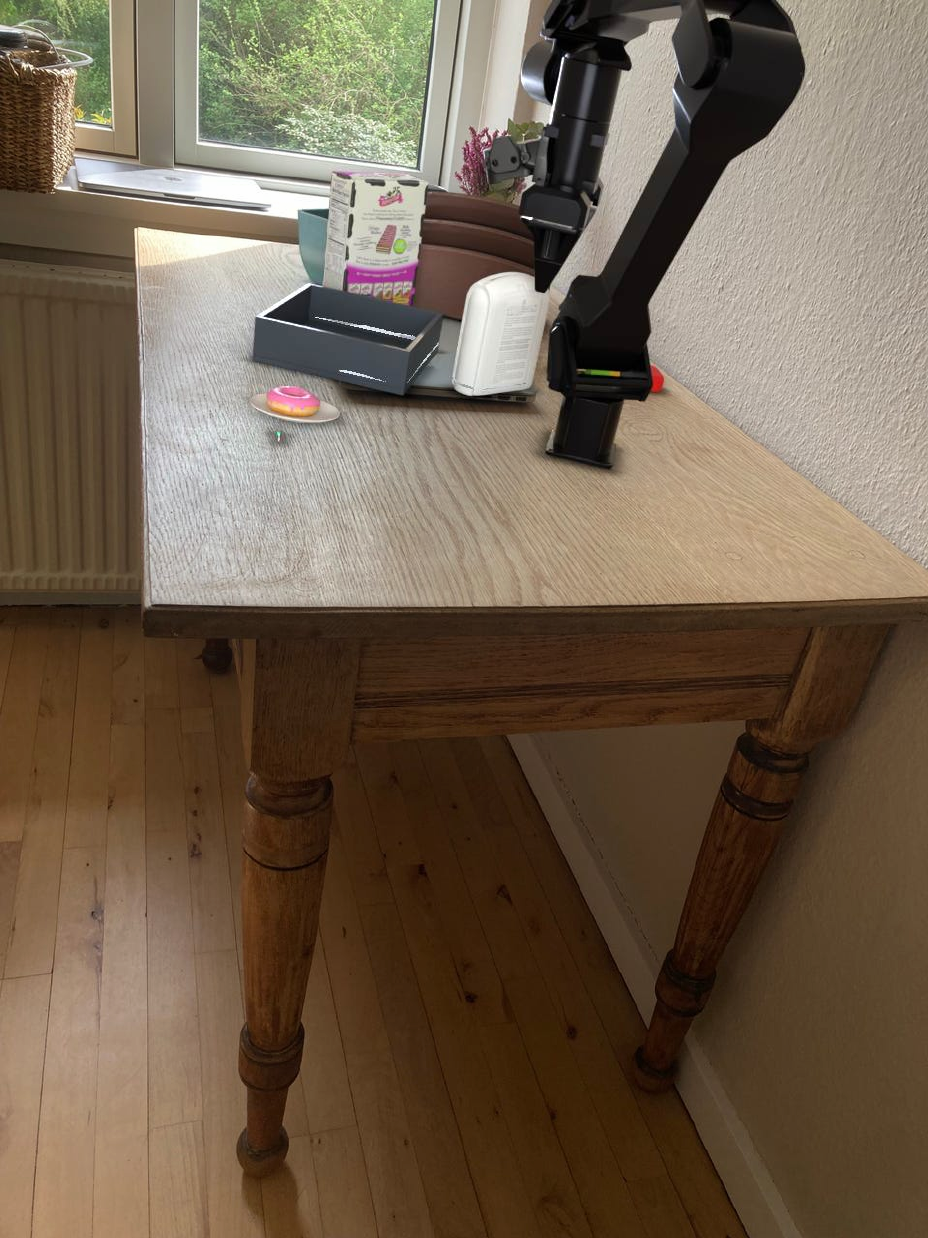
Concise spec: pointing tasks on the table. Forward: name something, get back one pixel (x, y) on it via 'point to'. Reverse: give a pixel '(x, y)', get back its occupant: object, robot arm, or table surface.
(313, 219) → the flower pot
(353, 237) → the candy bar box
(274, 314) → the tote
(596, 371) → the popsicle
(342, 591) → the table surface
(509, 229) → the letter holder
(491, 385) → the photo printer
